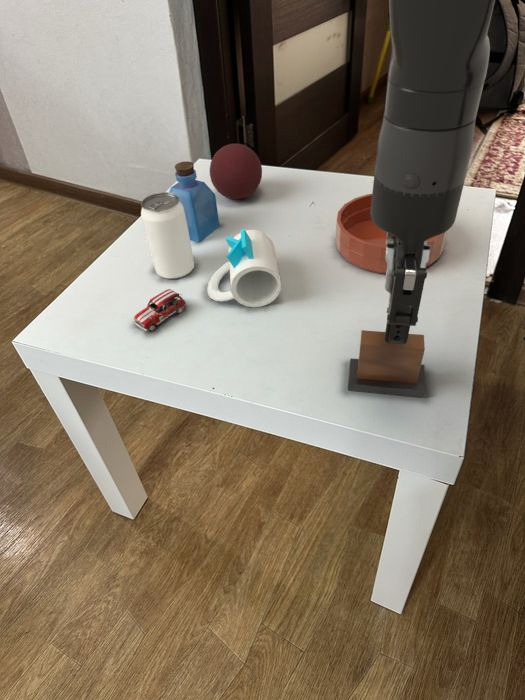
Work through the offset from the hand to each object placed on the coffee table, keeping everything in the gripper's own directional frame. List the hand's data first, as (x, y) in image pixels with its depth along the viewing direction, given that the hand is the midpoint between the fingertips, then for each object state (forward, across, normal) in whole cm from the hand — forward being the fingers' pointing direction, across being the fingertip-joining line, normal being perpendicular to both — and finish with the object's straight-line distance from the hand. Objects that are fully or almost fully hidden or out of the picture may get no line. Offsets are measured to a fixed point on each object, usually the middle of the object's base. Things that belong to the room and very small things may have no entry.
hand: (395, 314), depth 54 cm
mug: (+11, +18, +22) cm, 30 cm away
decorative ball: (+11, +46, +29) cm, 55 cm away
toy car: (+11, +8, +32) cm, 35 cm away
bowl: (+11, +30, 0) cm, 32 cm away
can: (+11, +20, +34) cm, 41 cm away
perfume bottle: (+11, +32, +34) cm, 48 cm away
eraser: (+11, 0, 0) cm, 11 cm away
